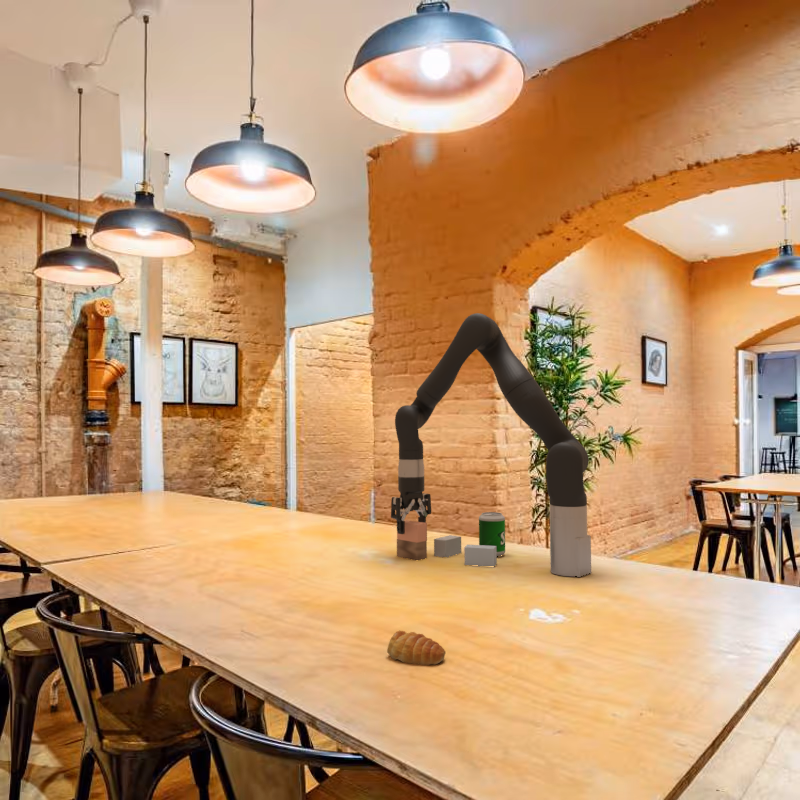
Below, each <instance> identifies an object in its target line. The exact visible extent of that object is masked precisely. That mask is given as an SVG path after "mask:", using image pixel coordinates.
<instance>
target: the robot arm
mask: <svg viewBox="0 0 800 800" xmlns="http://www.w3.org/2000/svg"><path fill="white" fill-rule="evenodd" d="M476 350H477V351H478V352H479V353H480V354H481V356H482V357H483V358H484V359H485V361H486V362H487V363H488V365H489V366H490V368H491V369H492V371H493V373H494V376H495V378H496V382H497V384H498V387H499V389H500V391H501V393H502V395H503V397H504V399H505V400H506V401H507V403H508V404H509V406H510V407H511V409H512V410H513V411H514V412H515V414H516V415H517V416H518V417H519V418H520V419H521V420H522V421H523V423H525V424H526V425H527V426H528V427H529V429H532V431H533V432H534V433H535V434H537V435H538V437H539V438H540V440H541V441H542V442H543V444H544V445H545V448H546V449H547V450H548V452H547V454H546V459H545V461H546V462H545V470H546V471H545V472H546V475H545V476H546V490H547V494H548V499H549V549H550V550H549V557H550V558H549V559H550V560H549V561H550V562H549V563H550V565H549V566H550V572H551V574H554V575H558V576H562V577H563V576H564V577H575V576H577V578H581V576H582V577H584V576H587V575H590V574H592V539H591V535H590V534H588V500H587V499H588V496H587V493H586V492H585V486H584V485H585V484H584V473H585V472H586V471H587V468H588V467H589V463H590V462H589V461H590V460H589V455H588V452H587V450H586V448H585V447H584V446H583V445H582V444H581V443H580V441H579V440H578V439H577V438H576V437H575V436H574V434H573V433H572V432H571V431H570V430H569V428H568V427H567V426H566V425H565V424H564V422H563V421H562V420H561V417H560V416H559V414H558V412H557V411H556V409H555V408H554V406H553V404H552V403H551V402H550V399H548V397H547V396H546V394H545V392H544V390H543V389H542V388H541V386H540V385H539V384H538V382H537V381H536V379H535V378H534V376H533V375H532V374H531V372H530V371H529V370H528V369H527V367H526V366H525V365H524V363H522V362H521V360H520V359H519V358H518V356H516V355H515V353H514V351H513V350H512V348H511V347H510V345H509V344H508V342H507V340H506V338H505V337H504V334H503V332H502V331H501V329H500V327H499V325H498V324H497V322H496V321H495V320H494V319H492V318H491V317H489V316H487V315H486V314H483V313H479V312H477V313H472V314H470V315H468V316H467V317H466V318H465V319H464V320H463V322H462V324H461V325H460V326H459V329H458V330H457V331H456V334H455V336H454V338H453V340H452V341H451V342H450V344H449V346H448V347H447V349H446V351H445V352H444V354H443V355H442V357H441V358H440V360H439V361H438V362H437V364H436V365H435V367H434V368H433V370H432V371H431V372H430V373H429V375H428V376H427V377H426V378H425V379H424V381H423V382H422V383H421V385H420V386H419V387H418V389H417V390H416V397H415V398H414V400H413V402H412V403H411V404H410V405H409V404H408V405H407V404H406V405H403V406H400V407H399V408H398V410H397V411H396V413H395V417H394V427H395V432H396V437H397V442H398V466H397V471H398V472H397V474H398V475H397V481H398V483H397V484H398V485H397V486H398V488H397V489H398V492H399V493H400V494H399V497H398V496H392V497H391V499H390V500H391V503H390V504H391V505H390V518H391V519H392V520H393V519H394V520H395V521H396V533H397V532H398V534H405V521H404V520H406V517H407V515H409V514H410V512H414V511H415V512H416V514H417V515H418V518H417V522H423V523H427V516H428V515H431V514H432V502H431V494H430V493H425V492H424V491H425V462H424V444H423V443H424V442H423V441H422V439H420V435H419V429H421V428H422V427H423V426H424V425H425V424H426V423H427V422H428V421H429V419H430V417H431V416H432V414H433V412H434V410H435V408H436V406H437V405H438V404H439V403H440V402H441V401H442V399H443V398H444V397H445V395H446V394H447V393H448V392H449V390H450V389H451V388H452V386H453V385H454V383H455V381H456V379H457V376H458V375H459V372H460V370H461V369H462V367H463V365H464V363H465V362H466V361H467V359H468V358H469V357H470V356H471V355H472V354H473V353H474V352H475V351H476ZM423 492H424V493H423ZM589 573H590V574H589ZM586 574H587V575H586ZM583 575H584V576H583Z"/></svg>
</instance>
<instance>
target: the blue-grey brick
mask: <svg viewBox="0 0 800 800" xmlns="http://www.w3.org/2000/svg"><path fill="white" fill-rule="evenodd" d="M497 558H498V557H497V549H496V546H486V545H479V544H466V545H465V546H464V566H465V565H478V566H477V567H480V566H495V565H496V566H497V564H498V562H497ZM496 563H497V564H496ZM496 566H495V567H496Z"/></svg>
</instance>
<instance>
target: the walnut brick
mask: <svg viewBox="0 0 800 800" xmlns="http://www.w3.org/2000/svg"><path fill="white" fill-rule="evenodd" d="M427 541H428V540H427ZM427 541H423V542H419V543H416V542H411V541H405V540H399V539H397V538H396V557H397V556H398V558H402V557H403V558H402V559H406V558H408V560H411V559H412V560H413V561H416V560H418V561H421V559H422V560H426V559H425V558H427V559H428V550H427V549H428V547H427V546H428V544H427V543H428V542H427ZM412 560H411V561H412Z"/></svg>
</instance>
